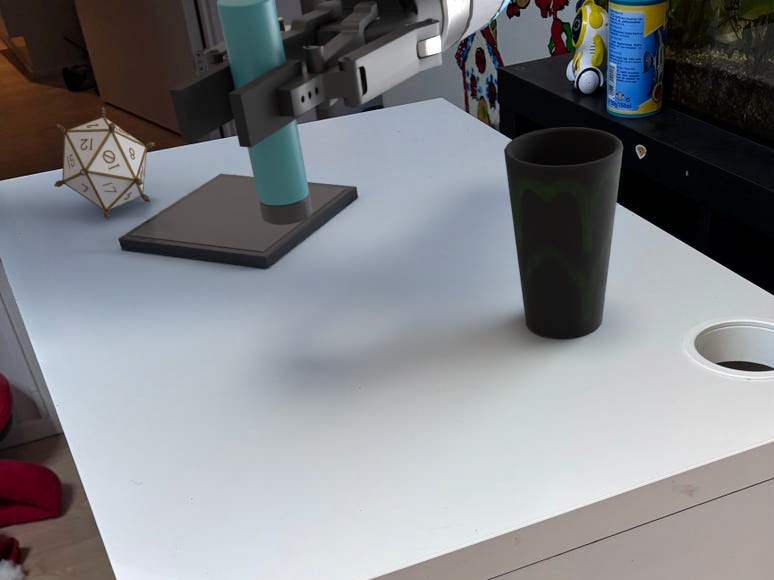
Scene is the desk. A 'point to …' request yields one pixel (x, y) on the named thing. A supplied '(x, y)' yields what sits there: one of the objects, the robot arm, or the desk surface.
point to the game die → (104, 163)
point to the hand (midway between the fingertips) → (211, 118)
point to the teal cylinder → (282, 149)
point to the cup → (563, 225)
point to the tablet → (232, 223)
